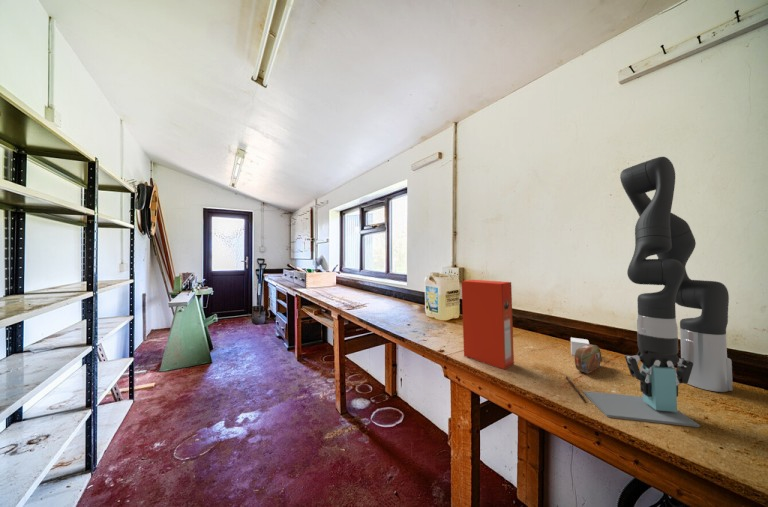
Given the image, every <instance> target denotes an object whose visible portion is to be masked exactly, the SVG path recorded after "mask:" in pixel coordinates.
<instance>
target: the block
mask: <svg viewBox="0 0 768 507" xmlns="http://www.w3.org/2000/svg"><path fill="white" fill-rule="evenodd" d="M644 367H645V366H644ZM645 369H646V370H649V369H648V368H647V367H645ZM676 369H677V368H675V367H674V368H667V367H653V376H652V379H651V381H650V383H651V390H652V397H647V396H646V395H645V394H643V393H642V396H643V401H644V402H646V403H647V404H648V405H650V406H651V407H652V408H654V409H655V410H661V411H671V412H677V410H678V400H677V399H678V397H677V393H676Z"/></svg>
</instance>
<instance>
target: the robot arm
mask: <svg viewBox="0 0 768 507" xmlns="http://www.w3.org/2000/svg"><path fill="white" fill-rule="evenodd" d="M619 178H620V179H619V180H620V182H621V185H622V188H623V189H624V191H625V194H626V195H627V197H628V199H629V200H630V202H631V204H632V206H633V208H634V209H635V212H637V214H638V216H639V217H638V219H637V220H636V223H635V229H634V237H635V239H634V241H635V243H634V244H635V245H634V251H633V256H632V257H631V259H630V263H629V265H628V268H627V274H626V275H627V277H628V279H629V280H630V281H631V283H634V284H636V285H651V286H663V289H661V290H659V291H656V292H644V293H640V294H639V295H638V296H637V319H636V333H637V334H636V335H637V336H636V337H637V347H638V352H637V353H636V354H635V355H629V354H626V355H624V359H625V362H626V364H627V367H628V370H629V373H630V376H632V377H633V378H635V379H637V381H639V384H640V392H642V395H643V394H645V395H646V396H647V397H652V390H651V383H650V381H651V379H652V376H653V367H667V368H674V369H676V393H677V398H678V397H679V385H680V384H688V385H690V386H693V387H695V388H699V389H702V390H707V391H712V392H719V393H726V392H729V391H731V392H733V390H734V388H733V365H732V364H733V362H732V359H731V358H729V357H728V352H727V351H728V347H727V346H728V345H727V344H728V343H727V327H728V322H729V303H730V302H729V300H730V295H729V290H728V288H727V287H726V285H725V284H724V283H722V282H720V281H714V280H702V279H701V280H700V279H691V278H690V277H689V275H688V272H687V269H686V265H687V262H688V260H690V258H691V256H692V254H693V253H694V250H695V248H696V245H697V242H696V238H695V235H694V234H693V231H692V229H691V226H690V225H689V224H688V222H687V221H686V220H685V219H683V218H682V217H680V216H679V215H677V214H675V213H672V207H673V201H674V193H675V187H676V186H675V185H676V170H675V167H674V164H673V163H672V161H671V160H670V159H669V158H668V157H666V156H658V157H655V158H652V159H650V160H646V161H644V162H640V163H638V164H635V165H632V166H630V167H627V168H625V169H623V170H622V171H621V172H620V177H619ZM653 191H655V192H654V195H653V196H652V199H651V198H650V197H649V196H648V194H647V193H649V192H653ZM655 255H656V257H657V258H649V257H651V256H655ZM676 305H678V306H681V307H683V308H689V309H696V310H701V313H700V315H699V316H695V317H687V318H686V317H685V318H682V319H680V322H679V327H678V323H677V318H676V317H677V316H676V315H677V314H676ZM678 328H679V329H678ZM679 330H680V332H678V331H679ZM679 333H680V335H679ZM679 336H680V357H679V356H678V354H679ZM640 362H641V364H640ZM639 364H640V366H639ZM644 366H645V367H647V368H648V369H649V370H646V369H645V367H644ZM675 367H676V368H675Z"/></svg>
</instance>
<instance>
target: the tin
mask: <svg viewBox="0 0 768 507" xmlns="http://www.w3.org/2000/svg"><path fill="white" fill-rule="evenodd" d="M573 357H574V365H575V369H576V370H577V371H578V372H581V373H585V374H590V373H592V372H593V371H596V370H597V369H599V367H600V365H601V361H602V352H601V350H600V347H599V346H598V345H596V344H590V343H589V344H587V345H585V346H583V347H580V348H578V349H577V350H576V352H575V356H573Z"/></svg>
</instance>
